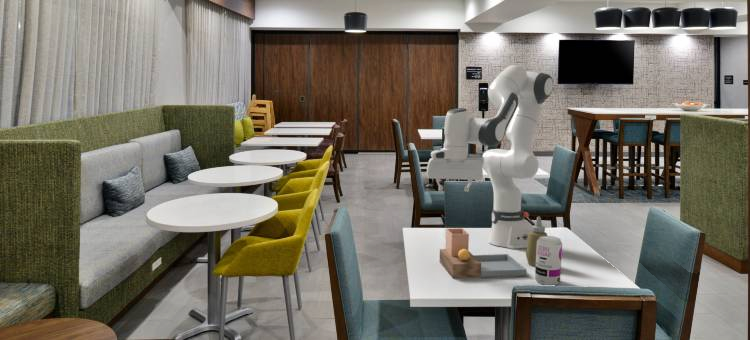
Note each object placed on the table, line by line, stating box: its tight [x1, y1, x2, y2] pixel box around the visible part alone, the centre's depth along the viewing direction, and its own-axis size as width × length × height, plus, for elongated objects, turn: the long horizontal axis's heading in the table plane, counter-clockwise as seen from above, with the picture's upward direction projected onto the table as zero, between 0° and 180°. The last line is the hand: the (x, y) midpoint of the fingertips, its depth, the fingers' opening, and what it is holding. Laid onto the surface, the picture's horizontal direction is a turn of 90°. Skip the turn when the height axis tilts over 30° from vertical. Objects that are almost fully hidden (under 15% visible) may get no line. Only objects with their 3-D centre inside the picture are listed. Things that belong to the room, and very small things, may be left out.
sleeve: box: [445, 227, 470, 256], centre depth 208 cm, size 6×8×8 cm
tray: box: [472, 253, 527, 279], centre depth 206 cm, size 16×18×2 cm
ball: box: [458, 249, 471, 260], centre depth 200 cm, size 4×4×4 cm
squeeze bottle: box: [525, 216, 548, 267], centre depth 210 cm, size 8×8×18 cm
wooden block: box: [439, 248, 481, 279], centre depth 205 cm, size 10×18×5 cm, turn 8°
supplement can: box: [534, 235, 563, 286], centre depth 192 cm, size 8×8×15 cm
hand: (453, 191), depth 209 cm, fingers open, 8 cm apart
